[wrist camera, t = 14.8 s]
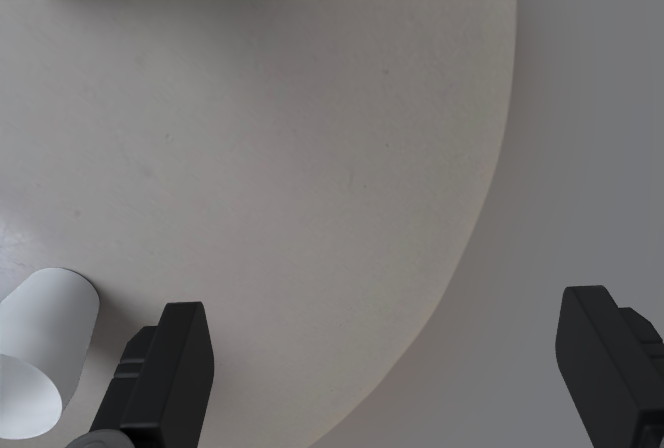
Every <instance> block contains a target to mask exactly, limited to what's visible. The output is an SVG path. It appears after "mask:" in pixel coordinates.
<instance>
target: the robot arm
mask: <svg viewBox="0 0 664 448" xmlns="http://www.w3.org/2000/svg"><path fill="white" fill-rule="evenodd" d="M555 347H556V358H557V363H558V367H559V369H560V372H561V374H562V376H563V379H564V381H565V383H566V385H567V388H568V390H569V392H570V394H571V396H572V399H573V401H574V403H575V406H576V408H577V410H578V413H579V415H580V417H581V419H582V422H583V424H584V426H585V428H586V431H587V433H588V435H589V437H590V440H591V442H592V444H593V446H594V448H664V344H663V340H662V338H661V337H660V335H659V334H658V333H657V331H656V330H655V328H654V327H653V325H652V324H651V322H649V321H648V320H647V319H645V318H644V317H643V316H641V315H640V314H638V313H637V312H636V311H634V310H633V309H632V308H630V307H628V308H618V306H617V305H616V303H615V302H614V300H613V299H612V297H611V295H610V294H609V292H608V291H607V289H606V288H605V287H604V286H602V285H597V286H573V287H566V288H565V290H564V293H563V298H562V305H561V310H560V317H559V323H558V329H557V335H556V343H555ZM213 377H214V355H213V349H212V345H211V340H210V335H209V330H208V325H207V320H206V315H205V310H204V306H203V304H202V302H177V303H167V304H166V306H165V308H164V310H163V313H162V316H161V318H160V321H159V323H158V326H145V327H143V328H142V329H141V330H140V331H139V332H138V333H137V334H136V335H135V336H134V337H133V338H132V339H131V340H130V341H129V342H128V343H127V345H126V348H125V350H124V352H123V355H122V357H121V359H120V364H118V366H117V368H116V371H115V373H114V379H112V380H111V382H110V384H109V387H108V389H107V391H106V394H105V396H104V398H103V400H102V403H101V405H100V407H99V410H98V412H97V414H96V416H95V419H94V421H93V423H92V426H91V428H90V430H89V432H88V433H86V434H84V435H82V436H80V437H78V438H77V439H75V440H73V441H72V442H71V443H69V444H68V445H67V446H66V447H65V448H197V446H198V442H199V438H200V433H201V429H202V425H203V421H204V417H205V413H206V408H207V404H208V400H209V396H210V392H211V387H212V383H213Z"/></svg>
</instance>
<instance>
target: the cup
mask: <svg viewBox="0 0 664 448" xmlns="http://www.w3.org/2000/svg"><path fill="white" fill-rule="evenodd" d="M99 305H100V303H99V297H98V294H97V292H96V290H95V289H94V287H93V286H92V285H91V284H90V283H89V282H88V281H87V280H86V279H85V278H83V277H82V276H80V275H79V274H77V273H75V272H72V271H69V270H66V269H61V268H45V269H41V270H38V271H36V272H34V273H33V274H31V275H30V276H29V277H28V278H27V279H26V280H25V281H24V282H23V283H21V284H20V285H19V286H18V287H17V288H16V289H15V290H14V291H13V292H12V293H11V294H9V295H8V296H7V297H6V298H5V299H4V300H3V301H2V302H1V303H0V438H5V439H26V438H31V437H35V436H39V435H41V434H43V433H45V432H47V431H48V430H50V429H51V428H52V427H53V426H54V425H55V424H56V423H57V422H58V420H59V418H60V417H61V415H62V413H63V411H64V410H65V408H66V406H67V404H68V403H69V401H70V399H71V398H72V396H73V395H74V393H75V391H76V389H77V386H78V383H79V380H80V376H81V373H82V369H83V365H84V362H85V358H86V355H87V351H88V347H89V344H90V340H91V336H92V333H93V329H94V326H95V322H96V318H97V315H98V311H99Z"/></svg>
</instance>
